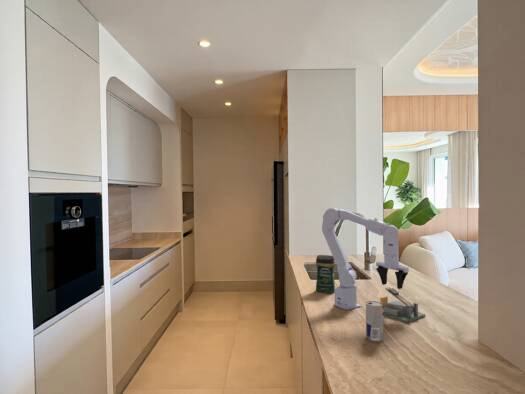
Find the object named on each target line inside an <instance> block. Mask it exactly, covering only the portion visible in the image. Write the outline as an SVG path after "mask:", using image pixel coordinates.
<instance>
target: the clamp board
mask: <svg viewBox="0 0 525 394" xmlns="http://www.w3.org/2000/svg"><path fill="white" fill-rule="evenodd" d="M379 298H380V300H379V302H380V303H381V304H382V309H383V316H386V317H389V318H392V319H395V320H397V321H400V322H403V323H405V324H408V323H411V322H414V321H416V320H419V319H423V318H426V313H423V312H420V311H419V304H418V303H417V302H413V305H415V308H413V309H411V305H407V306H406V305H405V304H404V303H403V302H401V301H400V300H399V299H397V300H394V301H390V302H388V301H389V299H388V298H389V297H388V296H386V295H383V296H380V297H379Z"/></svg>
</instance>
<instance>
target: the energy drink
mask: <svg viewBox="0 0 525 394" xmlns="http://www.w3.org/2000/svg"><path fill="white" fill-rule="evenodd" d="M383 317H384V315H383V309H382V304H381V303H380V301H376V300H370V301H369V300H368V301H366V304H365V330H366V331H365V335H366V339H367V340H368V341H370V342H374V343H380V342H382V341H383V340H384V320H383Z"/></svg>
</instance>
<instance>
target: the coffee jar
mask: <svg viewBox="0 0 525 394" xmlns="http://www.w3.org/2000/svg"><path fill="white" fill-rule="evenodd" d="M335 264H336V262H335V260H334V257H333V255H327V254H326V255H325V254H318V255H317V256H316V260H315V265H316V282H315V291H317V292H318V293H324V294H332V293H335V289H336V285H335V283H336V282H335V274H334V273H335V272H334V271H335V270H334V268H335Z"/></svg>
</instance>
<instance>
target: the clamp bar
mask: <svg viewBox="0 0 525 394" xmlns="http://www.w3.org/2000/svg"><path fill="white" fill-rule="evenodd" d="M385 290H386V291H387V292H388V293H389V294H391V295H392V296H393V297H395V299H397V300H398V301H401V302H403V303H404V304H405V305H406V306H407V305H411V309H413V308H415V305H414V303H412V302H410V301H409V300H407V299H406V298H405V297H403V296H402V295H401V294H400V292H399V291H397V289H395V288H394V287H385Z"/></svg>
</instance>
